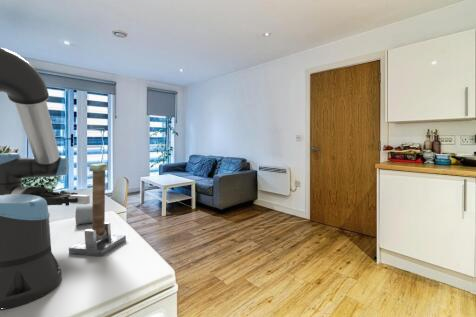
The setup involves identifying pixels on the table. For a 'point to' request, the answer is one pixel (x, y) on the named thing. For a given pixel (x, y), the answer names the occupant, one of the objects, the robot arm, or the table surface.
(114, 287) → the table surface
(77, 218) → the ceramic mug
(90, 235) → the stand base
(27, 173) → the robot arm
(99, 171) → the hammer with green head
